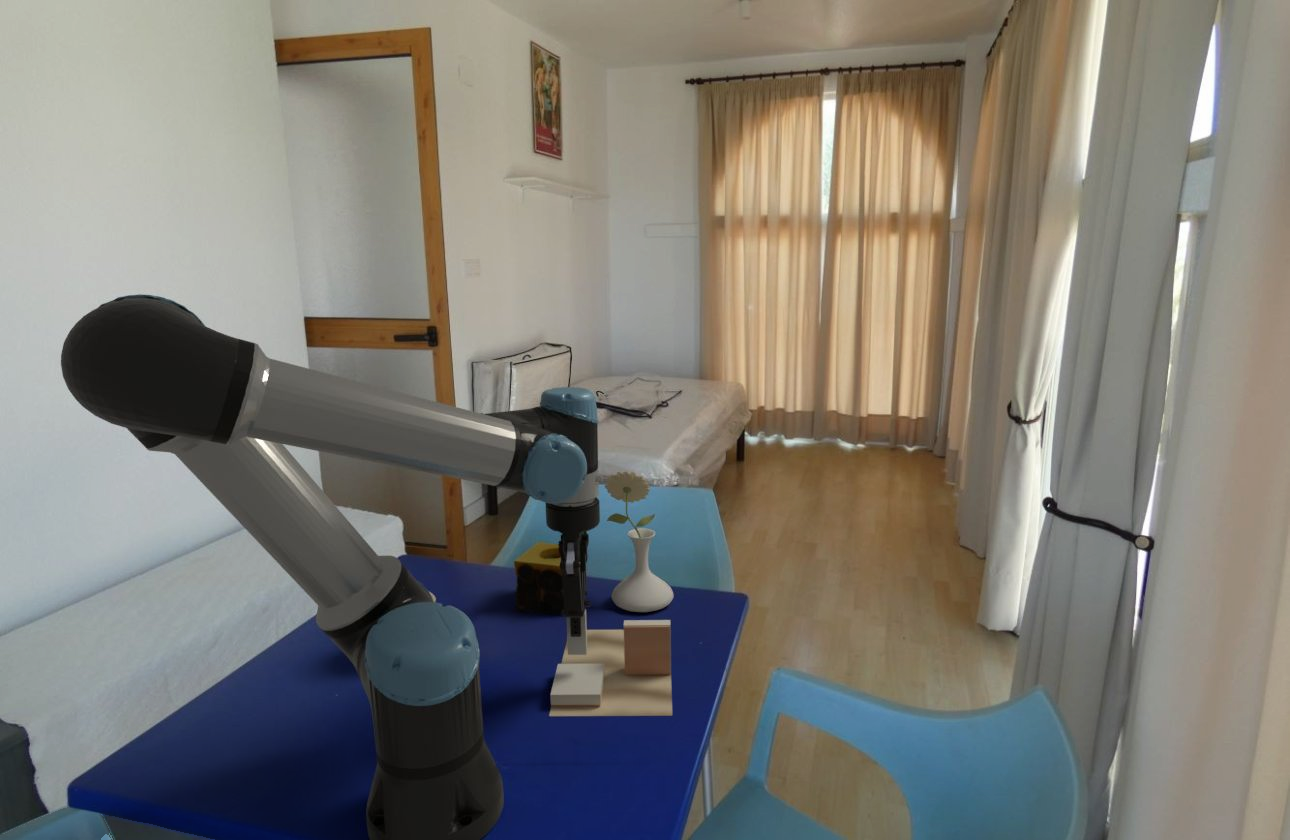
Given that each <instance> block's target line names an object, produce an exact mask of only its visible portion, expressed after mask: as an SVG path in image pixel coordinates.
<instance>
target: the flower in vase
mask: <svg viewBox="0 0 1290 840" xmlns="http://www.w3.org/2000/svg"><path fill="white" fill-rule="evenodd" d="M647 482H648V480H647V479H645V478H644V476H642V475H639V476H638V475H637V473H636V472H634V471H632V472H630V473H629V472H628V471H626V470H625V471H623V472H621V471H618V472H616V474H611V475H610V476H609V477H608V478H607V481H606V483H605V485H604V488H605V489H606V490H607V491H606V492H607V493H608V494H610V497H611V498H614V499H615V500H616V501H621V500H622V501H623V502H624V503H625V514H626V515H624V514H620V513H617V512H616V513H613V514H611V515H610V516H609V517H608V518H607V519H606V521H607V522H613V523H617V524H621V525H623V524H625V523H626V522H627V521H629V523H630V524H631V526H632V527H633V529H631V530H629V531H628V532H627V536H628V537H629V539H630V540H631V541H632V544H633V547H634V553H635V567H634V570H633V572H632V573H631V574H630V575H629V576H627V577H625V578H624V579H622V580H621V581H620V582H619V583H618V584H617V585H616V586H615V587H614V589H613V590H612V593H611V600H612V601H613V603H614V604H615V605H616V606H617V607H618V608H619V609H622V610H624V611H628V612H632V613H633V612H635V613H648V612H655V611H659V610H661V609H665V607H667V606H669V604H670V603H671V602H672V601H673V599H674V591H673V589H672V588H671V586H670V585H669V584H667V582H665V581H664V580H663V579H661V578H660V577H658V576H657V575H655V574H654V573H653V572H652V571H651V570H650V567H649V549H650V544H651V541H652V539H653V538H654V536H655V535H656V531H655V530H653V529H650V528H646V527H645V526H646V525H648V524H649V523H651V521H652V520H653V519H654V518H655V516H656V513H654V514H652V515H647V516H644V517H642V518H640V520H639V521H638V522H637V523H636V525H635V524H634V522H633V521H632V519H631V517H630V516H629V512H628V511H629V509H628V508H629V507H628V505H629V504H628V503H631V504H632V503H634V502H639V501H641V500H646V499H647V496H648V495H649V492H651V489H650V485H649V484H648V483H647ZM639 527H640V528H639ZM644 527H645V528H644Z"/></svg>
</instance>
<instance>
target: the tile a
mask: <svg viewBox="0 0 1290 840" xmlns="http://www.w3.org/2000/svg"><path fill="white" fill-rule="evenodd" d="M604 675H605V666H604V664H561V663H557V666H556V671H555V674H554V679H553V683H552V687H551V691H550V694H549V695H550V706H551V705H552V707H600V705H601V699H602V691H603V683H604Z"/></svg>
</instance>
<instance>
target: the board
mask: <svg viewBox="0 0 1290 840" xmlns="http://www.w3.org/2000/svg"><path fill="white" fill-rule="evenodd" d="M565 643H566V644H565V647H564V651H563V655H562V659H561V663H560V664H604V666H605V675H604V683H603V691H602V699H601V705H600V707H552V705H551V704H550V711H549V714H548V716H549V717H667V716H668V717H672V716H673V694H672V693H673V692H672V691H673V690H672V689H673V688H672V673H671V674H670V675H625V663H624V629H587V654H586V655H568V644H567V641H566V642H565Z"/></svg>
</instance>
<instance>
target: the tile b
mask: <svg viewBox="0 0 1290 840" xmlns="http://www.w3.org/2000/svg"><path fill="white" fill-rule="evenodd" d="M671 626H672V625H671V619H639V620H638V619H637V620H636V619H631V620H630V619H627V620H626V619H624V620H623V630H624V663H625V675H670V674H671V675H672V645H671V644H672V642H671V641H672V635H671V633H672V630H671V628H672V627H671Z"/></svg>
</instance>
